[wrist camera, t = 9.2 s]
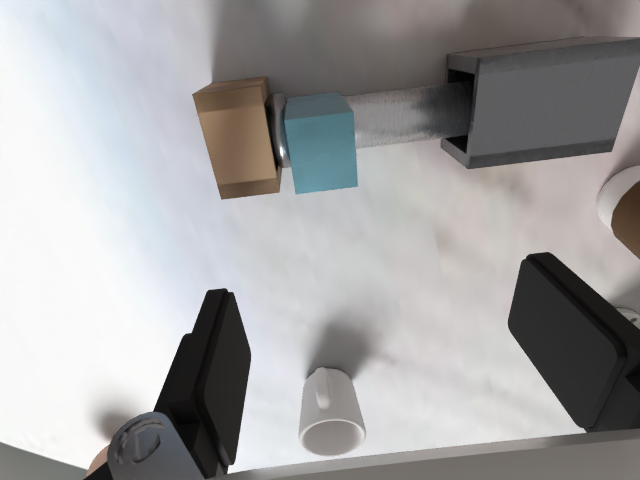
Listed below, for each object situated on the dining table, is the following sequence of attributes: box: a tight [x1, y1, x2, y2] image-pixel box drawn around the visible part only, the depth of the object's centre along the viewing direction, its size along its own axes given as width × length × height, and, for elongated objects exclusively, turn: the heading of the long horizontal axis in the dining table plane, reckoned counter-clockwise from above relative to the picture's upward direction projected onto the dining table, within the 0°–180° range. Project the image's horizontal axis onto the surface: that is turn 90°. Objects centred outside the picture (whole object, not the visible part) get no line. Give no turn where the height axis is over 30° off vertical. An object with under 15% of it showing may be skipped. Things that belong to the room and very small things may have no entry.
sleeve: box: [441, 37, 640, 169], centre depth 27 cm, size 11×8×6 cm
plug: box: [265, 80, 474, 194], centre depth 26 cm, size 19×6×10 cm, turn 96°
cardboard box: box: [192, 76, 282, 200], centre depth 27 cm, size 4×8×6 cm, turn 6°
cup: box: [299, 367, 366, 457], centre depth 43 cm, size 11×8×8 cm
